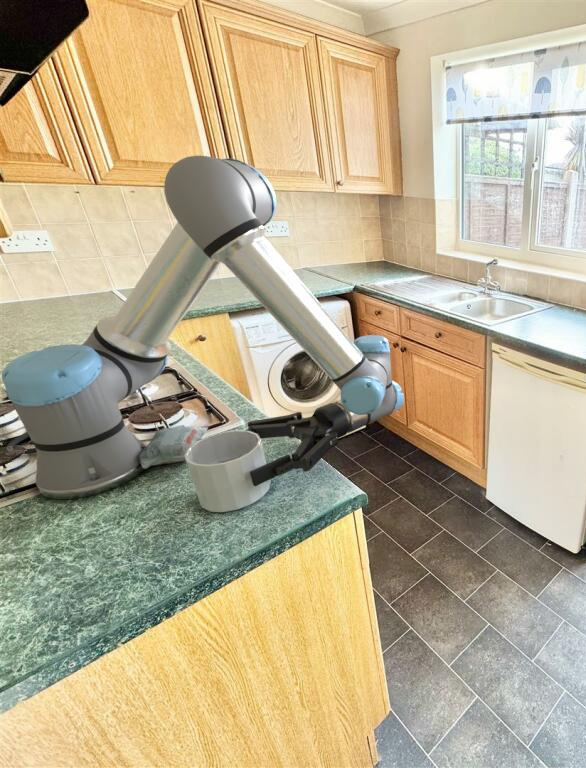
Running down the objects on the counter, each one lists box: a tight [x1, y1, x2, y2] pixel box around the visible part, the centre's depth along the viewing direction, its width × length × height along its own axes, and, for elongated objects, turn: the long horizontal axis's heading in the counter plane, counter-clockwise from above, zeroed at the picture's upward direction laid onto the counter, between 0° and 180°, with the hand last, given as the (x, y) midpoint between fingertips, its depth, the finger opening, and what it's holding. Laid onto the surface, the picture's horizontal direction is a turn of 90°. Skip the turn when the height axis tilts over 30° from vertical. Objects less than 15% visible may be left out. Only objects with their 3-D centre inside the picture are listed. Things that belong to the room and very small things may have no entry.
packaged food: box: [139, 424, 209, 470], centre depth 83 cm, size 9×12×5 cm
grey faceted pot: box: [184, 429, 272, 513], centre depth 73 cm, size 11×11×10 cm
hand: (232, 463), depth 73 cm, fingers open, 13 cm apart
